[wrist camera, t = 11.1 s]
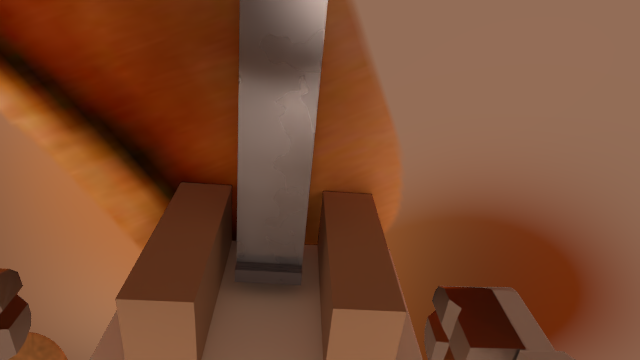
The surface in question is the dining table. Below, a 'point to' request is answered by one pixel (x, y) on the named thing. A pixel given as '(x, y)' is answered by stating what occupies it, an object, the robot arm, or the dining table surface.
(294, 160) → the rail
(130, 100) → the dining table surface
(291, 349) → the slab with twin posts
